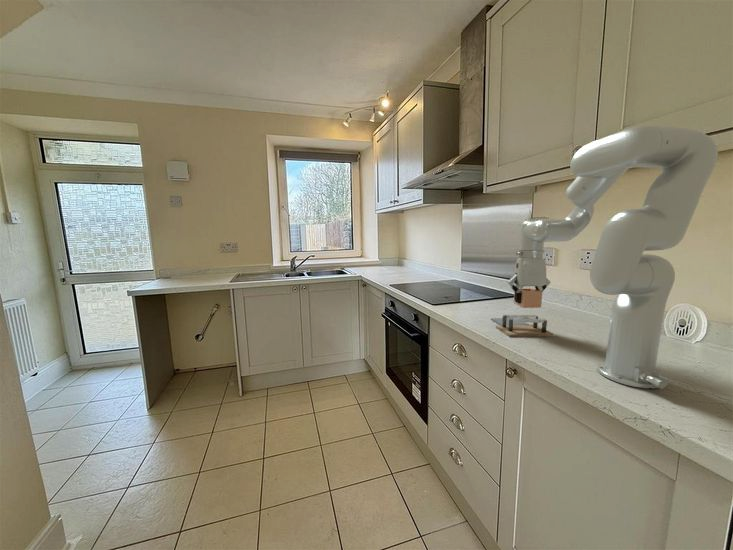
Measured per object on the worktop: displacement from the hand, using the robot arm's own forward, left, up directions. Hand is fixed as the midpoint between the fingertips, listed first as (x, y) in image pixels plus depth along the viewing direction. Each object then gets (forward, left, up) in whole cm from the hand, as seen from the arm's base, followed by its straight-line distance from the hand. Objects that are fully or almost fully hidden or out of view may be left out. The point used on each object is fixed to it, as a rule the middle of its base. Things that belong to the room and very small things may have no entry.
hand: (527, 302), depth 109 cm
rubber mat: (+8, +2, -11) cm, 14 cm away
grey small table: (-2, +2, -11) cm, 11 cm away
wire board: (-2, +2, -11) cm, 11 cm away
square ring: (0, 0, -1) cm, 1 cm away
